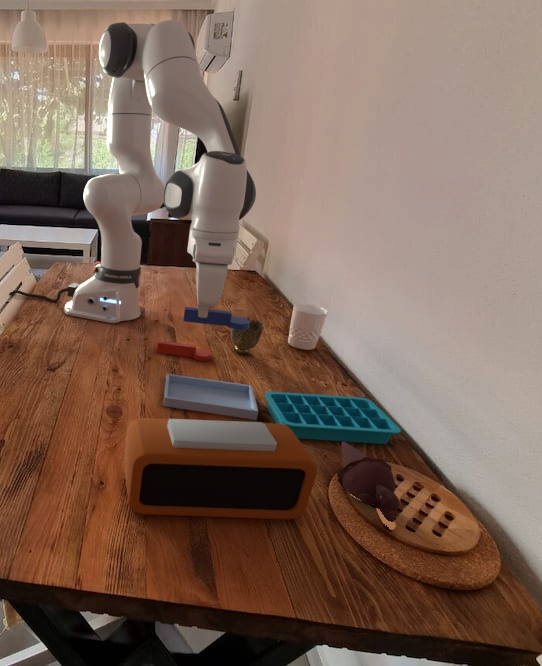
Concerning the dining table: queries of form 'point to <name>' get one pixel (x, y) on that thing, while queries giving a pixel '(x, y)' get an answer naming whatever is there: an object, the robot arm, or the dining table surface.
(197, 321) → the blue spoon
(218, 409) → the blue tray
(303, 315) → the white cup
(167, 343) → the red spoon
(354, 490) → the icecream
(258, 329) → the cup
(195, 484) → the alarm clock
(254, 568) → the dining table surface
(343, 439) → the ice cube tray
